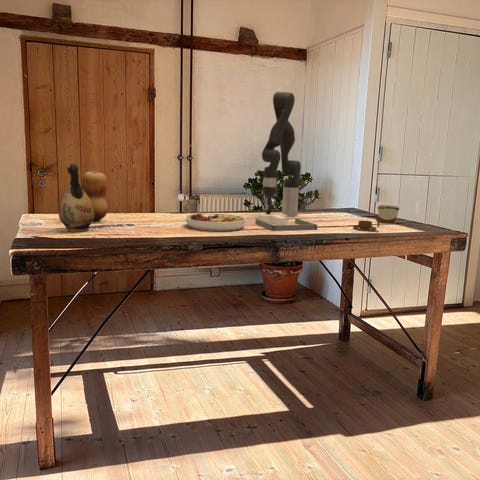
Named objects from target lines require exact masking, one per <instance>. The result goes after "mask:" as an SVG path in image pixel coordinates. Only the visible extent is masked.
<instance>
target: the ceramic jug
mask: <svg viewBox="0 0 480 480" xmlns="http://www.w3.org/2000/svg"><path fill="white" fill-rule="evenodd" d="M78 172H79V167H78V166H77V164H76V163H71V164H69V166H68V167H67V173H68V174H69V175H70V184H69V185H68V186H67V188H66V190H65V191H64V194H63V195H62V197H61V199H60V201H59V205H58V211H57V212H58V213H57V215H58V217H59V221H60V223H62V224H63V225H64V227H65V228H66V229H67V231H68V232H75V233H76V232H77V233H78V232H84V231H90V226H91V225H92V224H93V222H94V221H93V220H94V216H95V212H94V207H93V204H92V201H91V200H90V198H89V196H88V195H87V194H86V192H85V191H84V189H83V188H82V185H80V182H79V173H78Z"/></svg>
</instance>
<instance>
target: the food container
mask: <svg viewBox="0 0 480 480" xmlns="http://www.w3.org/2000/svg"><path fill="white" fill-rule="evenodd" d="M399 207H400V206H397V205H386V204H380V205H378V206H377V211H378V212H377V213H378V216H377V217H381V222H379V224H387V225H396V223H397V219H398V218H397V217H398V213H399V211H400V208H399Z"/></svg>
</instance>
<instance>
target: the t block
mask: <svg viewBox="0 0 480 480" xmlns="http://www.w3.org/2000/svg"><path fill="white" fill-rule="evenodd" d="M258 219H259V220H262V221H265V222H267V223H270V224H272V225H287V223H288V216H287V215H285V214H282V213H280V214H279V213H278V214H276V213H274V214H273V213H271V214H266V213H265V214H262V213H261V214H259V215H258Z"/></svg>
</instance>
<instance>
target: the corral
mask: <svg viewBox="0 0 480 480" xmlns="http://www.w3.org/2000/svg"><path fill="white" fill-rule="evenodd" d="M255 225H258V226H259V227H263V228H265V229H267V230H270V231H272V232H273V231H275V232H276V231H278V232H279V231H311V230H312V231H314V230H315V231H316V230H318V224H316V223H314V222H311V221H307V220H303V219H301V218H294V224H286V225H276V224H273V223H267V222H265V221H262V220H259V218H256V219H255Z"/></svg>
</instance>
